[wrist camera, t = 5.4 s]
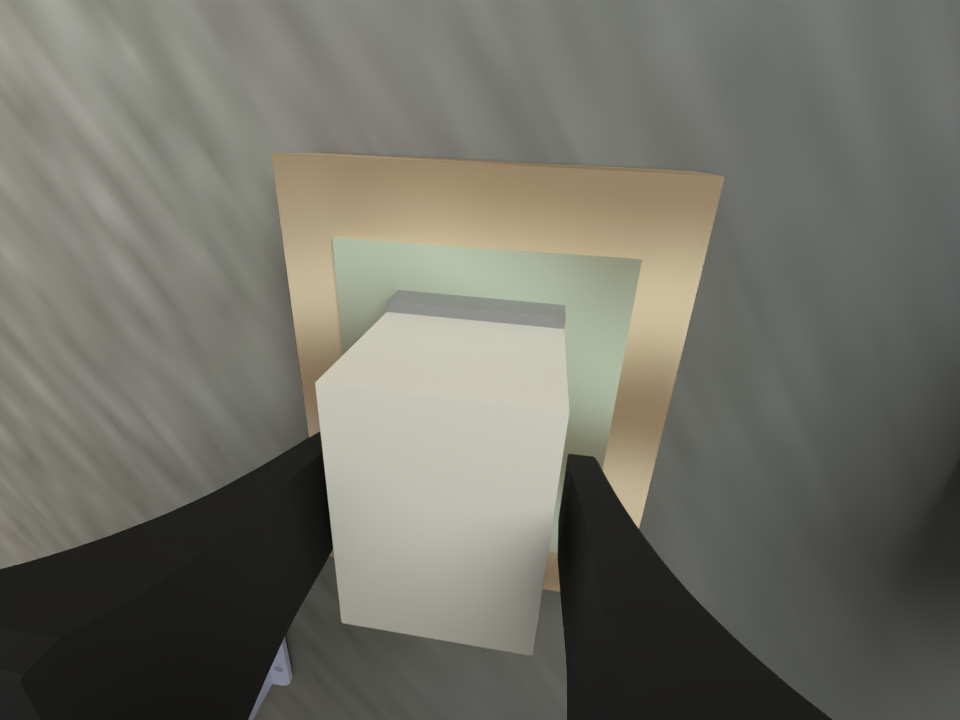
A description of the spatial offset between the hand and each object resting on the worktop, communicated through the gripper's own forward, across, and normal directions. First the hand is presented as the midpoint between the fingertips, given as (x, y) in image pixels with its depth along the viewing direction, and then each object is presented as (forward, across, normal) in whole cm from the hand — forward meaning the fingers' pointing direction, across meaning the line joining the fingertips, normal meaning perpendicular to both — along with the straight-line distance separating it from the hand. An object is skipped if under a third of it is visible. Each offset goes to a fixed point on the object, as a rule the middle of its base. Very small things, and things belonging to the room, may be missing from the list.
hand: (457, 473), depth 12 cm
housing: (+3, 0, 0) cm, 3 cm away
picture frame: (+6, 0, 0) cm, 6 cm away
